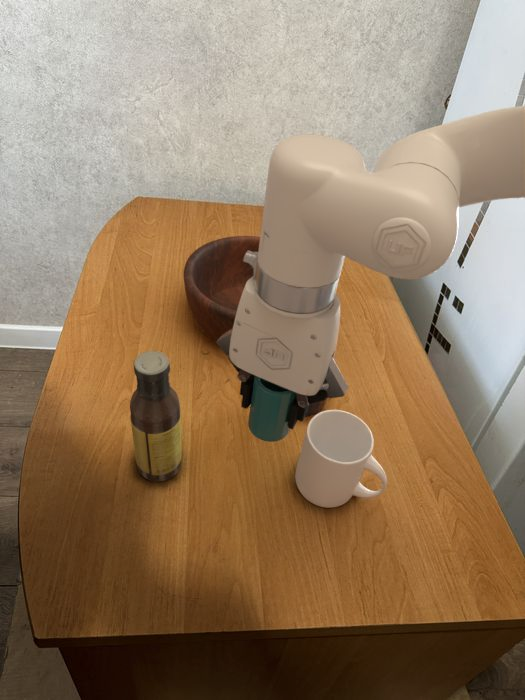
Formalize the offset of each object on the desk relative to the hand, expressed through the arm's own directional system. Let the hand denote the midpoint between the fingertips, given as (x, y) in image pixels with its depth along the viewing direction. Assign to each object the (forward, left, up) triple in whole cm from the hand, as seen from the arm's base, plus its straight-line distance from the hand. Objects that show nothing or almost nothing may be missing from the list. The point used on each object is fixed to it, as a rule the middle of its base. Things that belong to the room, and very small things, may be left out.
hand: (272, 409), depth 60 cm
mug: (-9, -6, -17) cm, 21 cm away
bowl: (+2, -19, -17) cm, 26 cm away
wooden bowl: (+18, -32, -17) cm, 41 cm away
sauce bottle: (+14, +3, -17) cm, 22 cm away
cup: (0, 0, -3) cm, 3 cm away
